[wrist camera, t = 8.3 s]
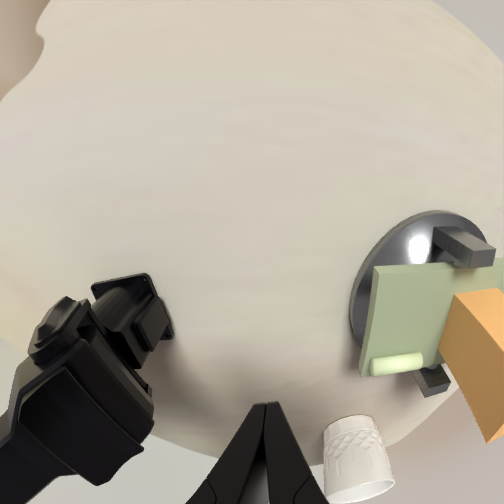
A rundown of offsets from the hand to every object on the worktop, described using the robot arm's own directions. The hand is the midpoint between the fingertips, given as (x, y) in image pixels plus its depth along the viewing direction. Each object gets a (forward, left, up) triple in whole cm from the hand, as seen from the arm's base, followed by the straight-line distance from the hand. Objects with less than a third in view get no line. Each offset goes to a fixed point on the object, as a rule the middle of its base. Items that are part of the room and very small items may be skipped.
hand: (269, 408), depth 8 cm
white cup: (+5, -25, -13) cm, 28 cm away
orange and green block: (+13, -6, -9) cm, 17 cm away
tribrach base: (+13, -6, -13) cm, 19 cm away
